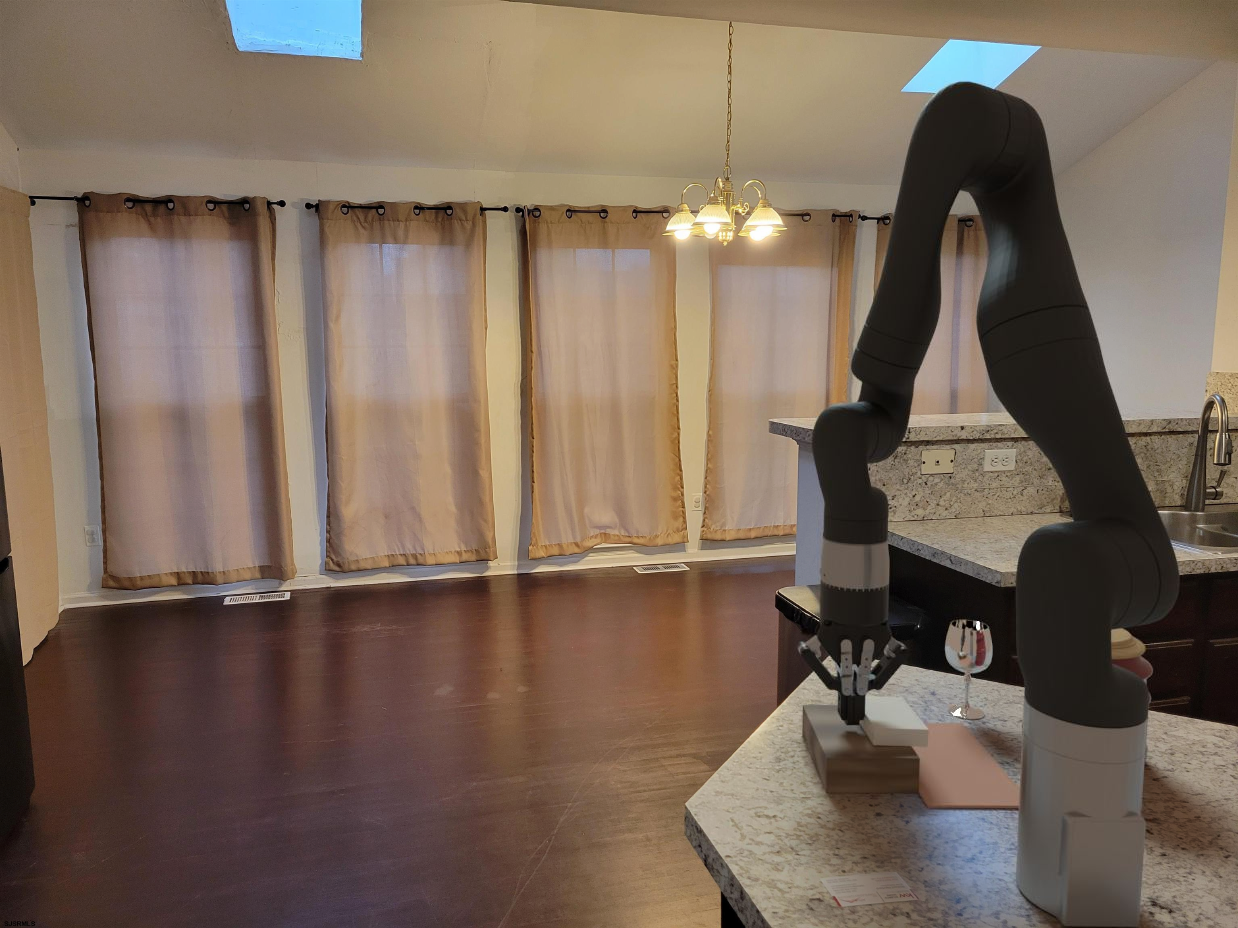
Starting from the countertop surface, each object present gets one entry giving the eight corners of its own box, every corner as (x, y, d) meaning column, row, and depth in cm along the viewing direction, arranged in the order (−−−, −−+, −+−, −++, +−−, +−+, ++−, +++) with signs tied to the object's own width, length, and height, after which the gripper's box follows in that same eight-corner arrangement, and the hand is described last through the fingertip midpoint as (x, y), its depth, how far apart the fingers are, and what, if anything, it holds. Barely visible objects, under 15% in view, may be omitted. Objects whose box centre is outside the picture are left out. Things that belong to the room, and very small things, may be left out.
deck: (918, 792, 90) (919, 758, 89) (826, 792, 90) (826, 757, 90) (882, 735, 104) (883, 704, 103) (802, 735, 104) (802, 704, 104)
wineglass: (997, 721, 107) (1001, 632, 106) (952, 721, 107) (955, 632, 106) (979, 703, 113) (982, 618, 112) (936, 703, 113) (939, 618, 112)
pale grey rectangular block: (927, 746, 92) (928, 729, 92) (873, 744, 92) (874, 727, 92) (901, 712, 101) (902, 697, 101) (852, 711, 101) (853, 695, 101)
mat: (1034, 808, 87) (1034, 805, 86) (928, 807, 87) (928, 804, 87) (962, 725, 106) (962, 722, 106) (875, 724, 107) (876, 722, 107)
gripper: (802, 586, 91) (800, 737, 93) (924, 585, 90) (919, 736, 92) (789, 569, 98) (788, 709, 100) (902, 568, 98) (898, 708, 100)
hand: (851, 722), depth 96 cm, fingers closed
